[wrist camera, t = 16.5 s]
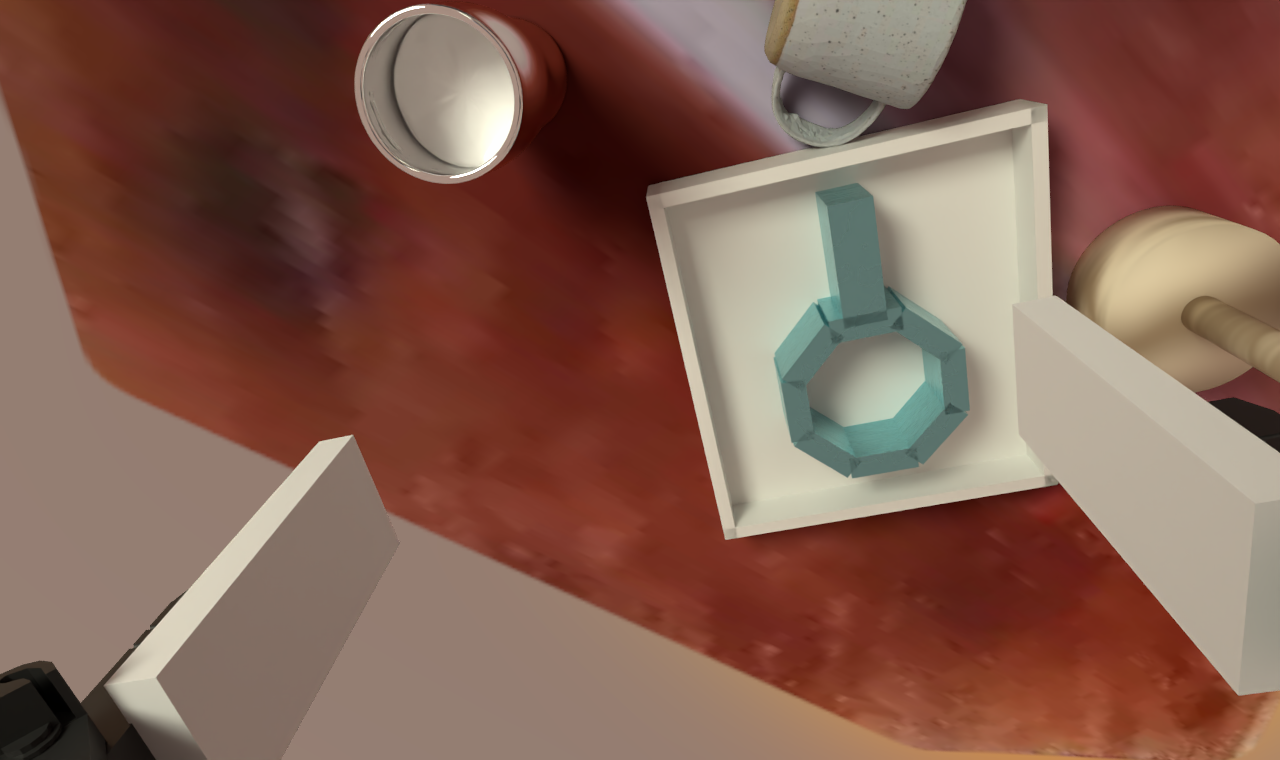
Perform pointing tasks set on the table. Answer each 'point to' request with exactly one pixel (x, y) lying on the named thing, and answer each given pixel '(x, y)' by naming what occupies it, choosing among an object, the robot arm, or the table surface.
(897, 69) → the ceramic mug
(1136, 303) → the wooden peg stand
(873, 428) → the ring
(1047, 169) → the tray
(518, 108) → the beer glass
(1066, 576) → the table surface
